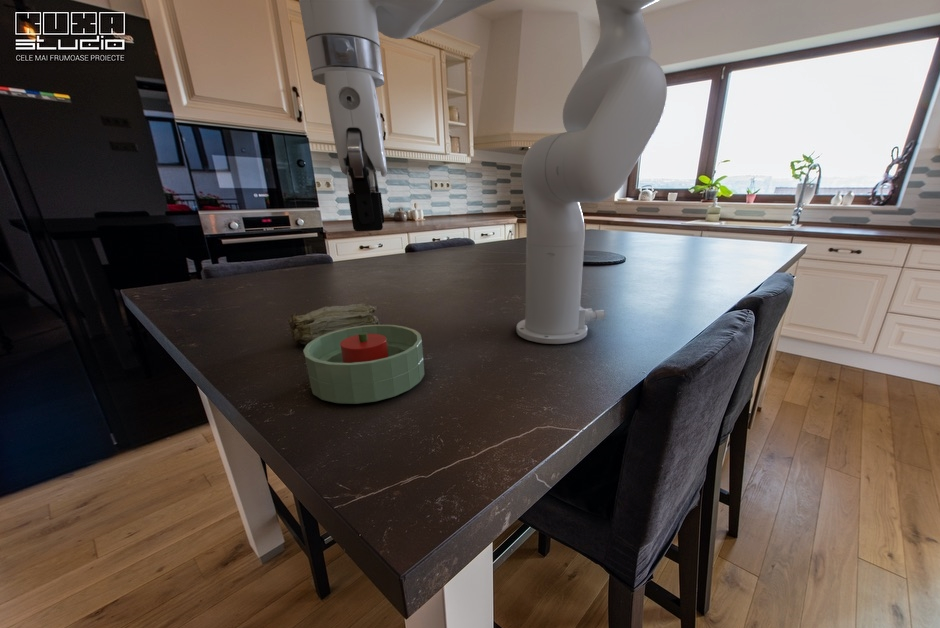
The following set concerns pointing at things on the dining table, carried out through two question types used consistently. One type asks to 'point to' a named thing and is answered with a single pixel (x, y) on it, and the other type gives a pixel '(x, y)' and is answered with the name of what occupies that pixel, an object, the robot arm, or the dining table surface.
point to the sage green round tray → (364, 366)
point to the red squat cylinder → (364, 348)
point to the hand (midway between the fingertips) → (370, 226)
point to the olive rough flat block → (330, 321)
